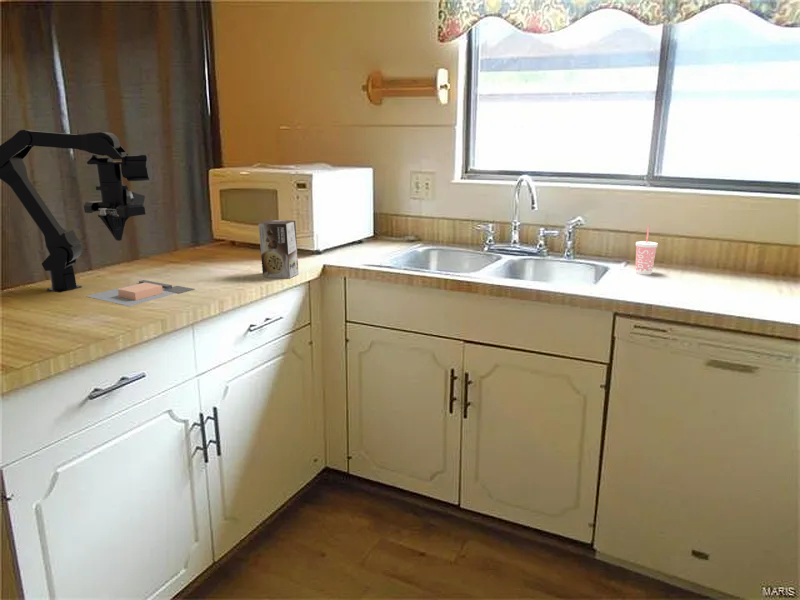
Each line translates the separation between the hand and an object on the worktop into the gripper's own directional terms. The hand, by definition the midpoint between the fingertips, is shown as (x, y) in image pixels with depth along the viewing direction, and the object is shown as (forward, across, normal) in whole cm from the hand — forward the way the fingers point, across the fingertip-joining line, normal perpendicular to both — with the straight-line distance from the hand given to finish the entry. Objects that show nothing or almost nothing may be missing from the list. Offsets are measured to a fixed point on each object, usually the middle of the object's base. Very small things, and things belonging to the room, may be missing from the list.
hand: (118, 240), depth 159 cm
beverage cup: (+13, -120, -89) cm, 150 cm away
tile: (+12, -9, +4) cm, 15 cm away
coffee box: (+13, -28, -32) cm, 45 cm away
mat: (+13, -10, +4) cm, 17 cm away
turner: (+13, -10, -4) cm, 17 cm away
